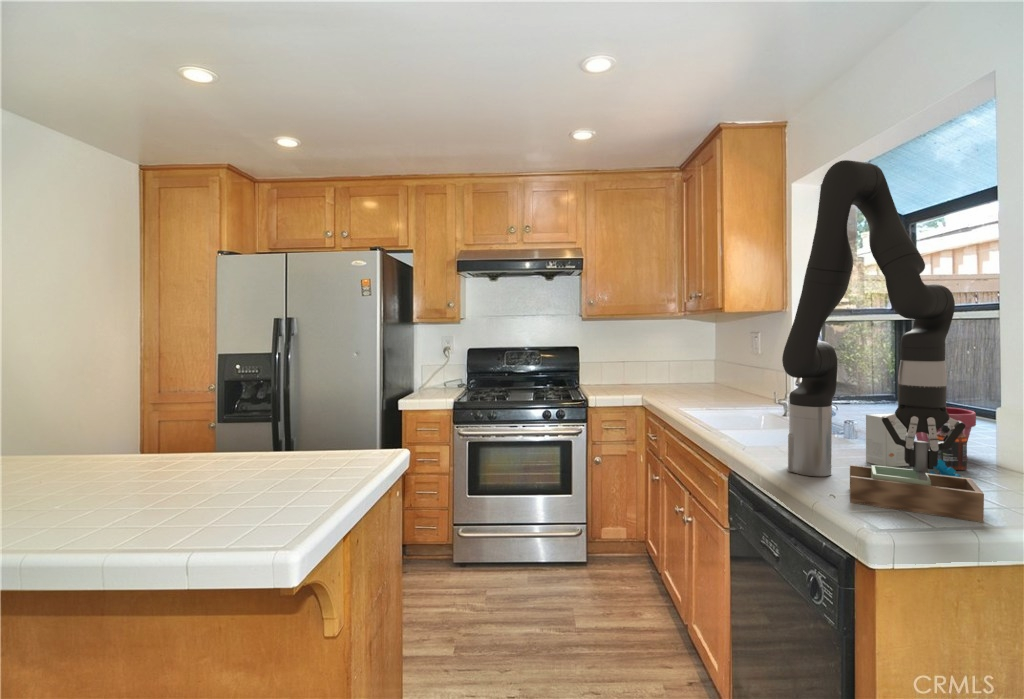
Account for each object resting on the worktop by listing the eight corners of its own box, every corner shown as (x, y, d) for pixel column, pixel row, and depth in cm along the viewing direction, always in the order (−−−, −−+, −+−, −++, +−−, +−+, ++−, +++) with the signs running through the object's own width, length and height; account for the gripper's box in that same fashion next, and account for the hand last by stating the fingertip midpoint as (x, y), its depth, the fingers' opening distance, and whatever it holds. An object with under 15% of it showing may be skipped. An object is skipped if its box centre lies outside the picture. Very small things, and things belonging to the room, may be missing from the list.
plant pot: (934, 461, 133) (935, 414, 132) (896, 448, 147) (897, 406, 146) (990, 461, 132) (991, 413, 132) (946, 448, 146) (947, 405, 146)
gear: (977, 484, 108) (936, 450, 110) (955, 503, 108) (915, 468, 111) (947, 477, 118) (911, 446, 121) (927, 493, 119) (892, 462, 122)
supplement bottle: (963, 466, 127) (964, 423, 127) (969, 472, 122) (970, 427, 122) (933, 463, 130) (934, 421, 130) (938, 469, 125) (938, 425, 125)
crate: (872, 498, 102) (873, 441, 101) (870, 487, 108) (871, 434, 108) (930, 506, 97) (931, 446, 96) (925, 494, 103) (925, 438, 103)
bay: (850, 502, 103) (850, 476, 103) (849, 488, 112) (850, 464, 112) (983, 522, 91) (984, 493, 91) (970, 504, 100) (971, 478, 100)
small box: (890, 459, 135) (891, 412, 134) (912, 466, 128) (913, 416, 128) (864, 461, 133) (865, 414, 133) (885, 468, 127) (886, 418, 127)
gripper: (880, 383, 100) (879, 466, 101) (972, 386, 93) (970, 477, 93) (878, 379, 107) (877, 458, 107) (964, 382, 99) (962, 467, 100)
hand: (920, 466), depth 100 cm, fingers closed on crate, 2 cm apart
